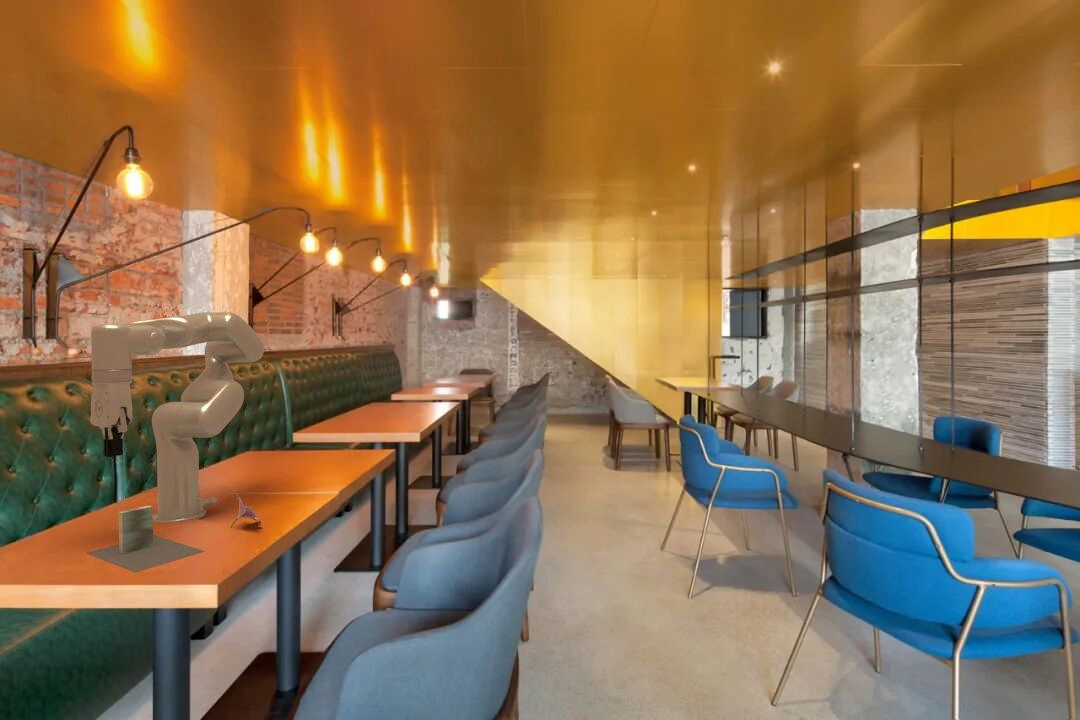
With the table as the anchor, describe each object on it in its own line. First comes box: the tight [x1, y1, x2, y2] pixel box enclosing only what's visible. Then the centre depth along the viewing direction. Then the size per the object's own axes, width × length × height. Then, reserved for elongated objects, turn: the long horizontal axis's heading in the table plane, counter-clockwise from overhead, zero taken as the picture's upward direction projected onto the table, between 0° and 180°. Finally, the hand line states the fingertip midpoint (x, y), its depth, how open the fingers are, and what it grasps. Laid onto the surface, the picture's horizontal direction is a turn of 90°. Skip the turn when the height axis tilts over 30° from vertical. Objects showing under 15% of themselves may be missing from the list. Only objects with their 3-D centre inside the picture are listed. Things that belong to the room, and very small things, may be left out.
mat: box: [86, 534, 206, 573], centre depth 128 cm, size 14×22×1 cm, turn 60°
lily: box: [230, 489, 264, 529], centre depth 147 cm, size 12×12×10 cm
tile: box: [118, 505, 154, 554], centre depth 130 cm, size 6×2×9 cm, turn 150°
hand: (113, 455), depth 134 cm, fingers closed
